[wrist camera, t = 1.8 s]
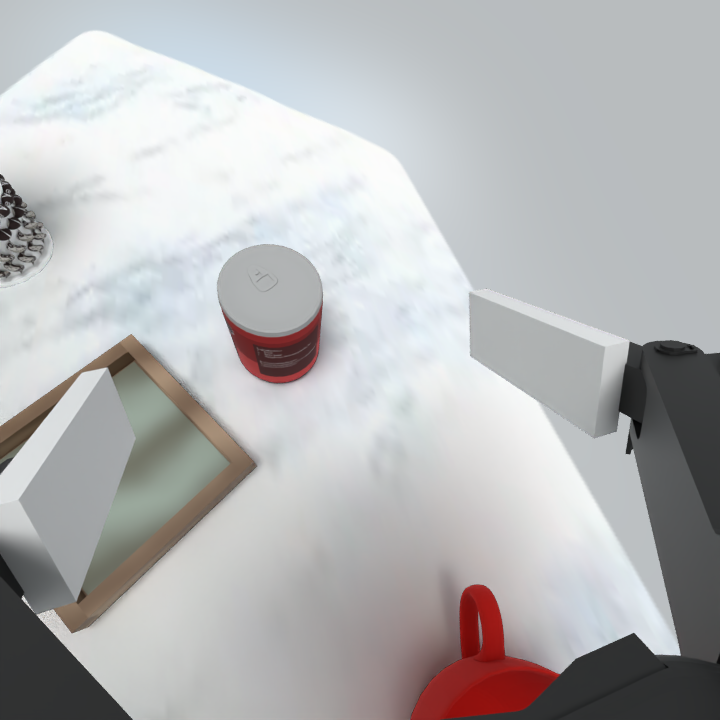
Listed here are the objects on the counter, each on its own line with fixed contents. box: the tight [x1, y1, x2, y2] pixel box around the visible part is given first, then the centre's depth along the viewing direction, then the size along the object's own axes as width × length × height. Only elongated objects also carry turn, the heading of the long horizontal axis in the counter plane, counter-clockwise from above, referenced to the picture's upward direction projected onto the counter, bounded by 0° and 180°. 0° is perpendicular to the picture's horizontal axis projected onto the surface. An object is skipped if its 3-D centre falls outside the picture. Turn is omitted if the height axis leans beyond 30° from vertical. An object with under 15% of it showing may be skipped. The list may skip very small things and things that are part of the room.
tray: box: [0, 334, 257, 633], centre depth 34 cm, size 16×16×2 cm
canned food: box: [217, 244, 323, 383], centre depth 36 cm, size 8×8×11 cm
